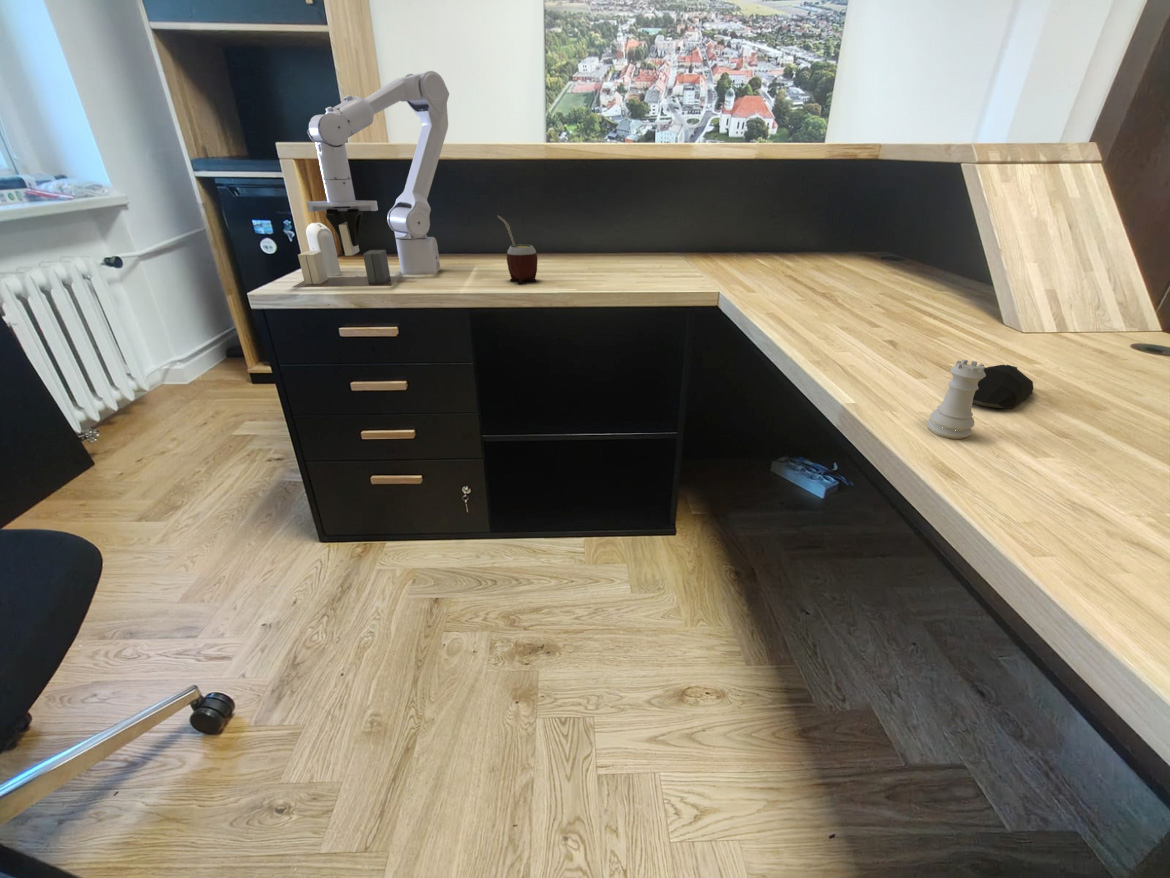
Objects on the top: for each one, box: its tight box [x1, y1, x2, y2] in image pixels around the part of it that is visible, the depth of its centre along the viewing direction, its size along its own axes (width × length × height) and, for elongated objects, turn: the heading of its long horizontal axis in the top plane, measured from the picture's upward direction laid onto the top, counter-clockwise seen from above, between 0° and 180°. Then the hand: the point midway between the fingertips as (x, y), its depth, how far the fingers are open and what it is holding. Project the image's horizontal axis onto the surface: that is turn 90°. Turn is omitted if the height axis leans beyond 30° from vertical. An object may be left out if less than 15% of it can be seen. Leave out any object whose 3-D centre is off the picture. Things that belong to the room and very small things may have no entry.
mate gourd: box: [496, 215, 538, 285], centre depth 127 cm, size 8×8×15 cm
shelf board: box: [292, 275, 403, 288], centre depth 129 cm, size 22×10×1 cm, turn 92°
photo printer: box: [305, 222, 342, 277], centre depth 135 cm, size 10×4×12 cm, turn 39°
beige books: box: [297, 250, 328, 284], centre depth 127 cm, size 3×5×6 cm
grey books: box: [362, 249, 391, 283], centre depth 127 cm, size 4×5×6 cm
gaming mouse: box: [972, 364, 1034, 409], centre depth 71 cm, size 6×15×4 cm, turn 126°
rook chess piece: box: [926, 359, 986, 440], centre depth 60 cm, size 4×4×8 cm
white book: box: [339, 221, 360, 257], centre depth 124 cm, size 2×5×6 cm, turn 2°
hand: (350, 245), depth 125 cm, fingers closed on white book, 1 cm apart
